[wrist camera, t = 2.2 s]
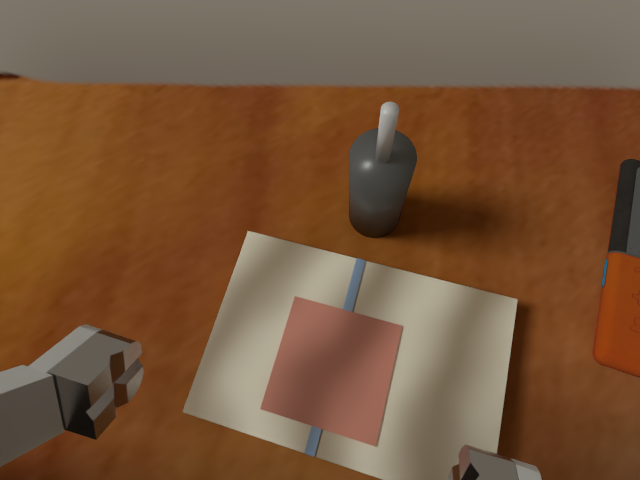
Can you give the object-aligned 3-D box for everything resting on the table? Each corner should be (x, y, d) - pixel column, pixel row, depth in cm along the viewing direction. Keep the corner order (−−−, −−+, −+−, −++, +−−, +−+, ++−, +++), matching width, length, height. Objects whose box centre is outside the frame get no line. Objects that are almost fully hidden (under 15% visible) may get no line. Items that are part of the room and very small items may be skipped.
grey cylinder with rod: (404, 197, 29) (438, 84, 18) (392, 242, 28) (422, 152, 17) (355, 187, 30) (360, 70, 18) (343, 230, 29) (339, 135, 17)
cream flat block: (508, 303, 26) (518, 299, 25) (479, 506, 23) (489, 515, 21) (253, 238, 29) (247, 230, 27) (191, 410, 25) (181, 412, 24)
